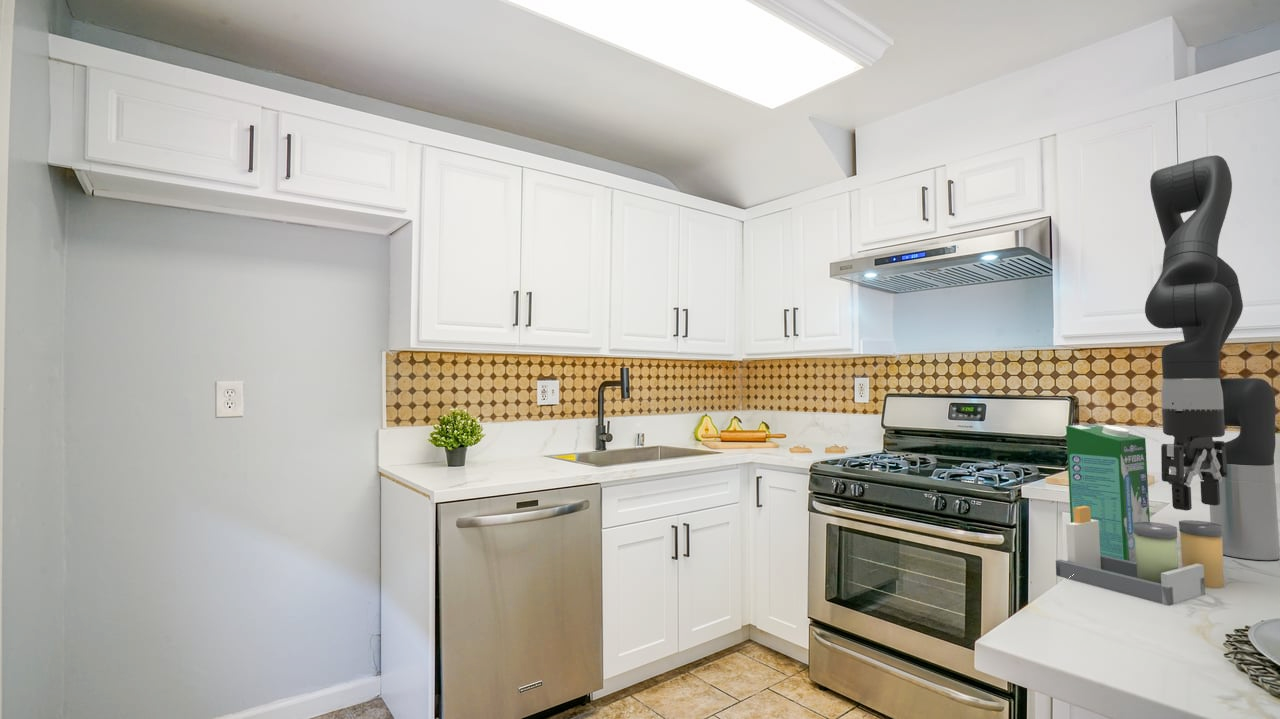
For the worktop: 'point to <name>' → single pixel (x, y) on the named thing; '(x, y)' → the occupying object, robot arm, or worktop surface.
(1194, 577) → the grey tray
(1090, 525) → the block
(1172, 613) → the worktop surface
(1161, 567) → the green jar
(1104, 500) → the milk carton
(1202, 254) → the robot arm
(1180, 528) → the amber jar
